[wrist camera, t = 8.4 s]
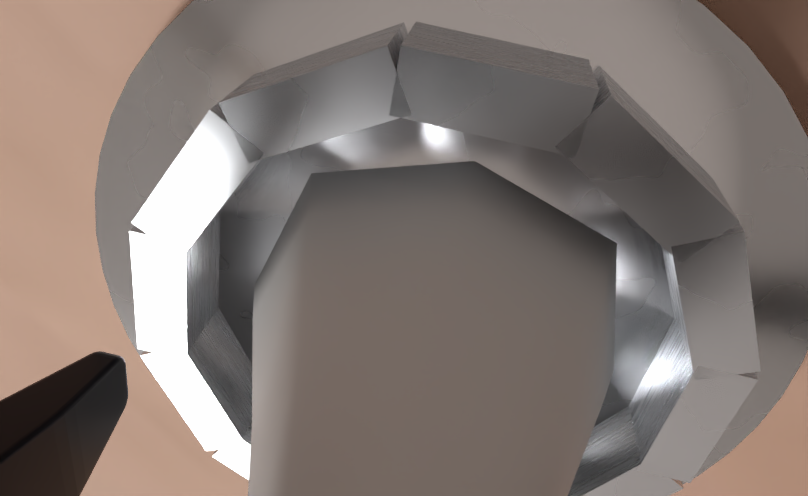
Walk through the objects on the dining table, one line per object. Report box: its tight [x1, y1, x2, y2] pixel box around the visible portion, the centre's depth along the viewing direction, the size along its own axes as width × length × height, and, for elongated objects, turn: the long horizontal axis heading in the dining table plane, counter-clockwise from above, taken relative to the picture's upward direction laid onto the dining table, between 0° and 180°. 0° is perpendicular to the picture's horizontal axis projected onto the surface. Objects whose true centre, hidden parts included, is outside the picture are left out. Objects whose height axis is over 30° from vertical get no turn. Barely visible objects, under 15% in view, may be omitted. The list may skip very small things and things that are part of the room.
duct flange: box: [95, 0, 808, 496], centre depth 12 cm, size 14×14×2 cm
